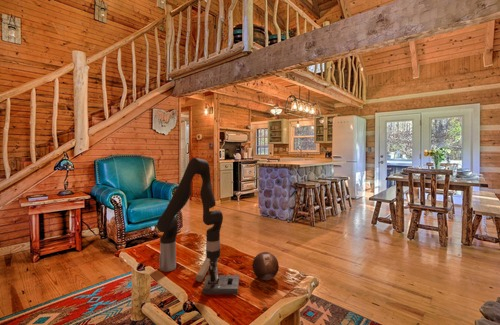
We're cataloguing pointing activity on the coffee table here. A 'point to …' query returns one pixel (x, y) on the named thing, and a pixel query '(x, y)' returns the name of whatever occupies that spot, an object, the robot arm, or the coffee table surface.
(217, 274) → the block
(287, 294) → the coffee table surface
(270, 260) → the wooden sphere
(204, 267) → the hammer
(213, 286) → the socket plate
